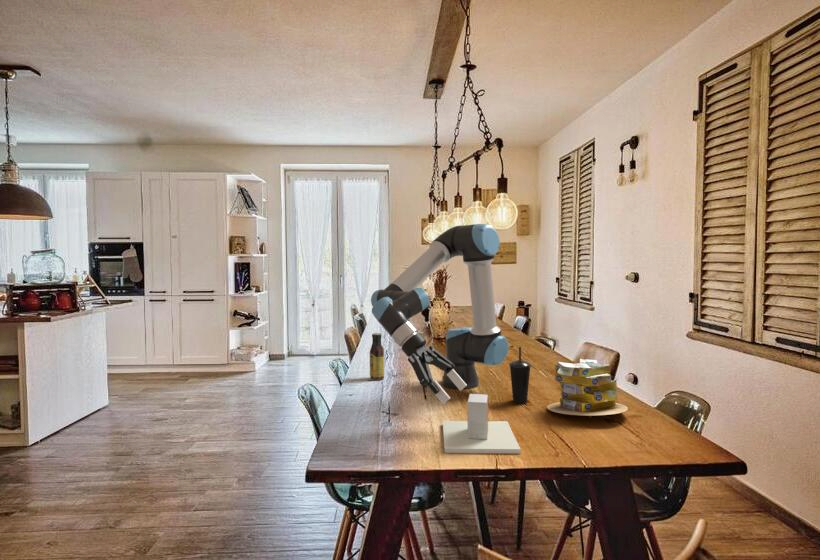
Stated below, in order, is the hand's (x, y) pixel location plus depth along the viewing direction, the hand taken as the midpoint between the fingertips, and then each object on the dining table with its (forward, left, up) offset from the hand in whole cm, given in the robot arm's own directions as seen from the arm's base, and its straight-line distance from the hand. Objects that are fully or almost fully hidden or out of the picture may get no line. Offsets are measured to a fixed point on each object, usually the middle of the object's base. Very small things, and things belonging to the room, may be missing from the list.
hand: (455, 394), depth 130 cm
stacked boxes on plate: (-45, +18, -12) cm, 50 cm away
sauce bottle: (-20, -64, -12) cm, 68 cm away
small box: (-2, +6, -11) cm, 13 cm away
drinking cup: (-38, -4, -12) cm, 41 cm away
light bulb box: (-70, +6, -12) cm, 72 cm away
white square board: (-2, +6, -12) cm, 14 cm away
